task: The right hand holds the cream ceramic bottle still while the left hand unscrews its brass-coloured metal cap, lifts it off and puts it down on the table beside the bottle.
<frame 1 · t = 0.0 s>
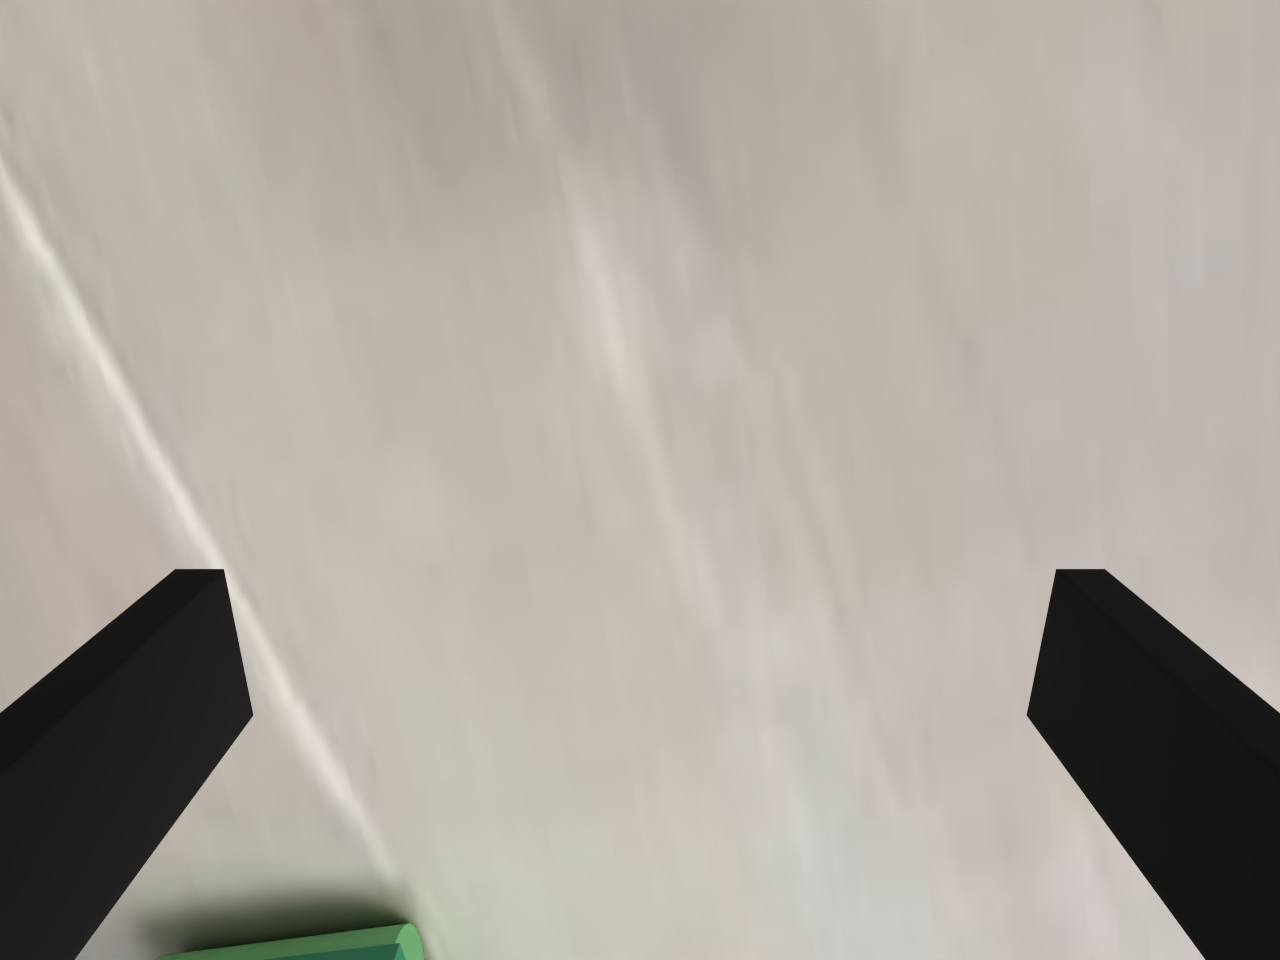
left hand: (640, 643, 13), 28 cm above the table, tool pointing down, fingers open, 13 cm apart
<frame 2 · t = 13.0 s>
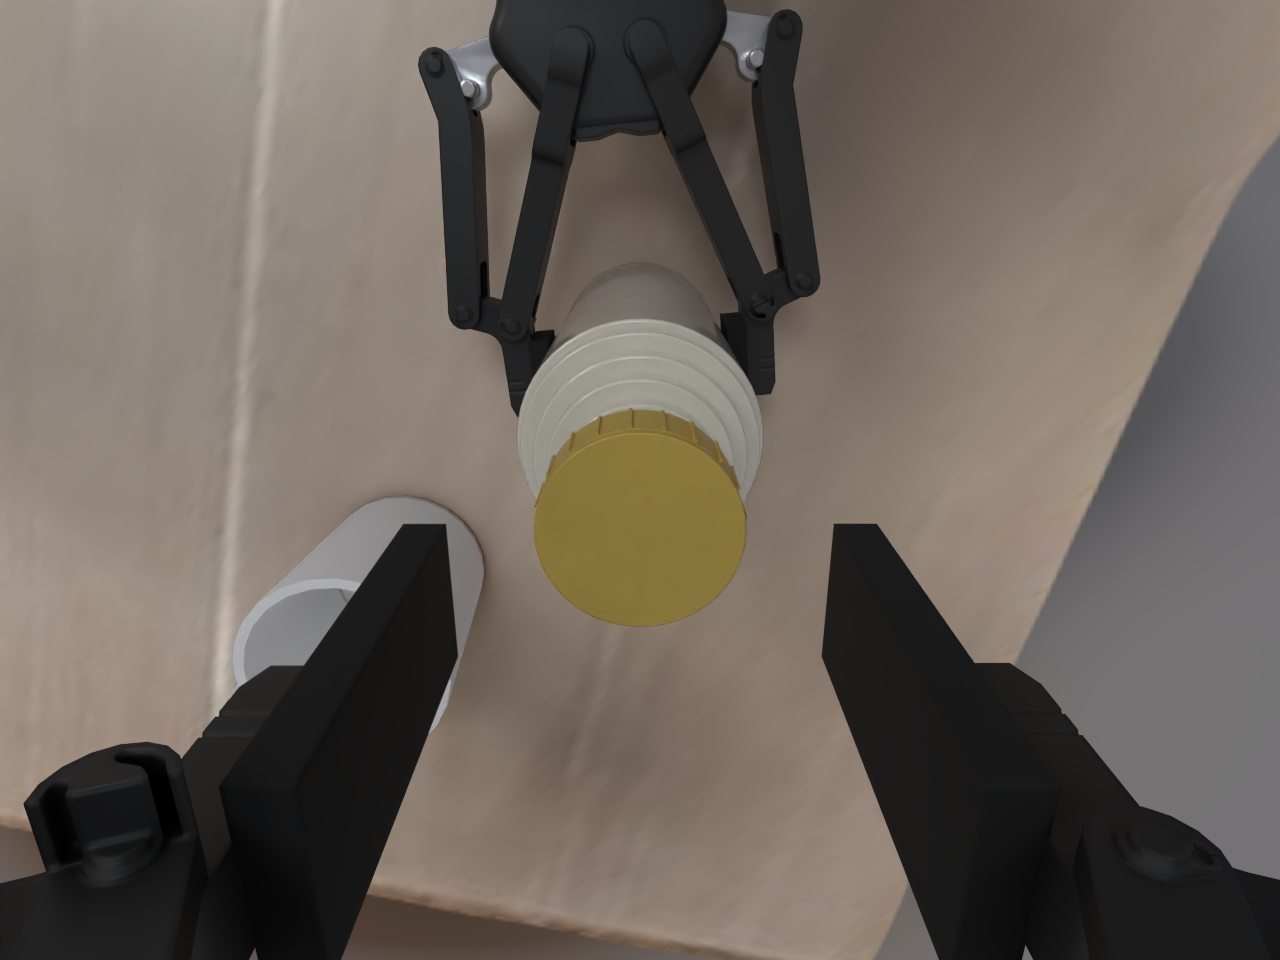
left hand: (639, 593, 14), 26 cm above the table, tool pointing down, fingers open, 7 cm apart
right hand: (650, 475, 35), fingers closed on bottle, 7 cm apart
mug: (394, 569, 43), on the table
cap: (640, 528, 17), point 23 cm above the table, screwed on, not yet turned
bottle: (640, 338, 38), on the table, touching right hand
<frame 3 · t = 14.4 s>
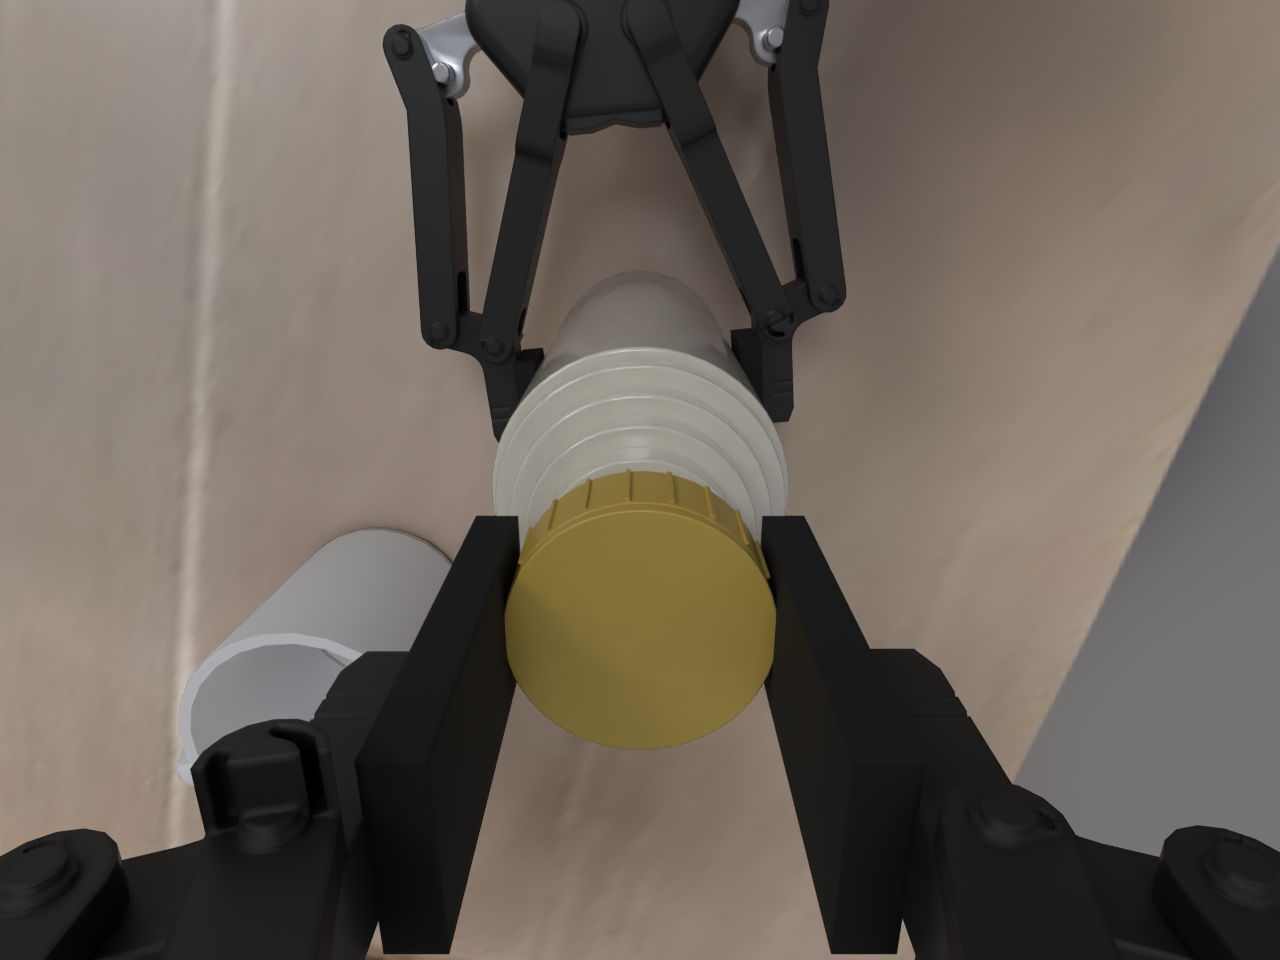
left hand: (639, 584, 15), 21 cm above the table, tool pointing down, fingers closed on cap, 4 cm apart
right hand: (652, 511, 31), fingers closed on bottle, 7 cm apart
mug: (370, 607, 39), on the table
cap: (640, 628, 13), point 23 cm above the table, screwed on, not yet turned, touching left hand
bottle: (640, 354, 35), on the table, touching right hand
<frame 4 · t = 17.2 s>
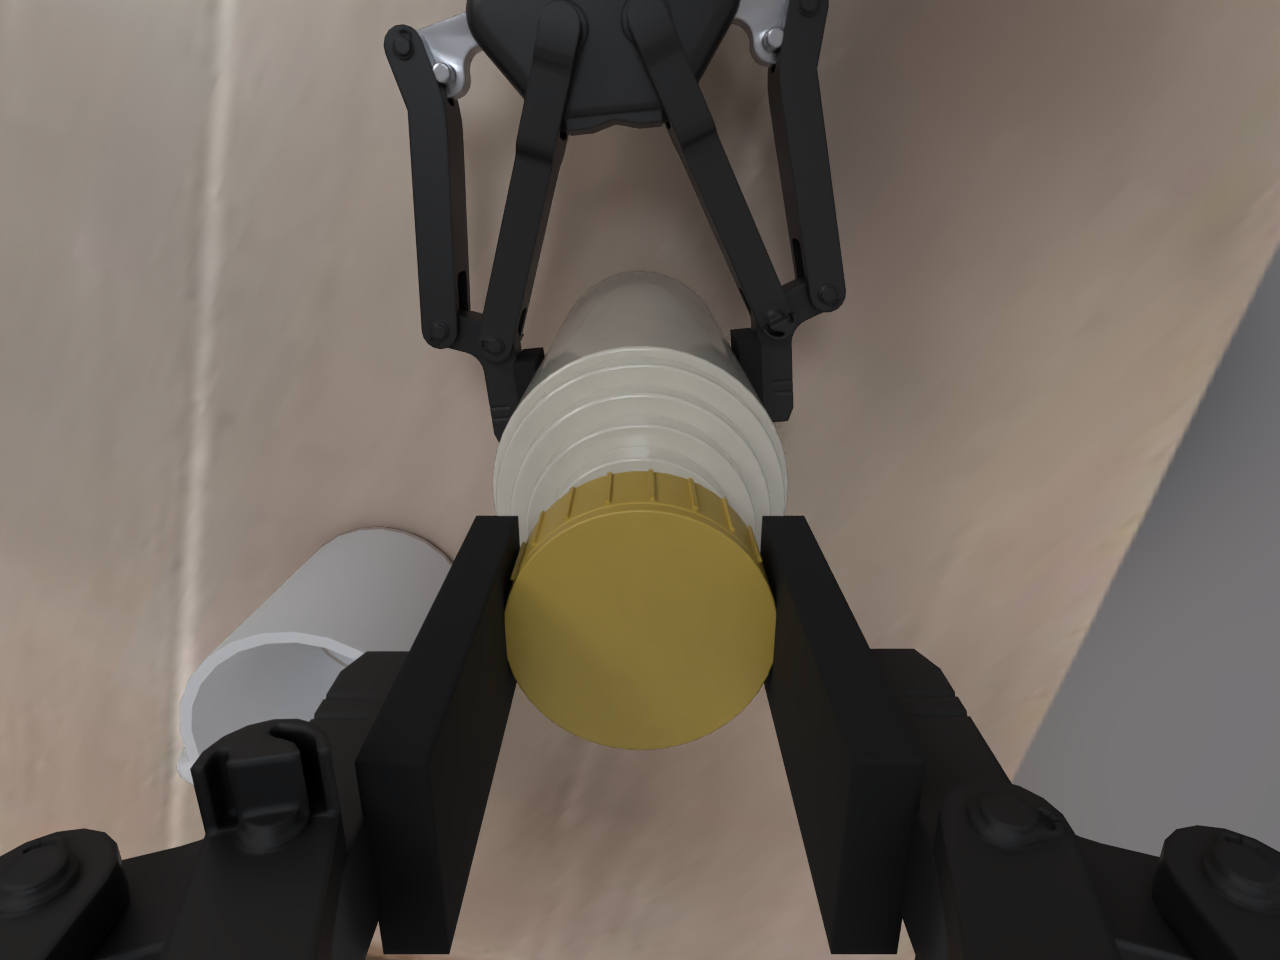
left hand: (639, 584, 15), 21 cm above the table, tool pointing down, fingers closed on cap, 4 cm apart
right hand: (652, 510, 31), fingers closed on bottle, 7 cm apart
mug: (370, 606, 39), on the table
cap: (640, 628, 13), point 23 cm above the table, turned 80° so far, risen 0.1 cm, still on its thread, touching left hand
bottle: (640, 354, 35), on the table, touching right hand
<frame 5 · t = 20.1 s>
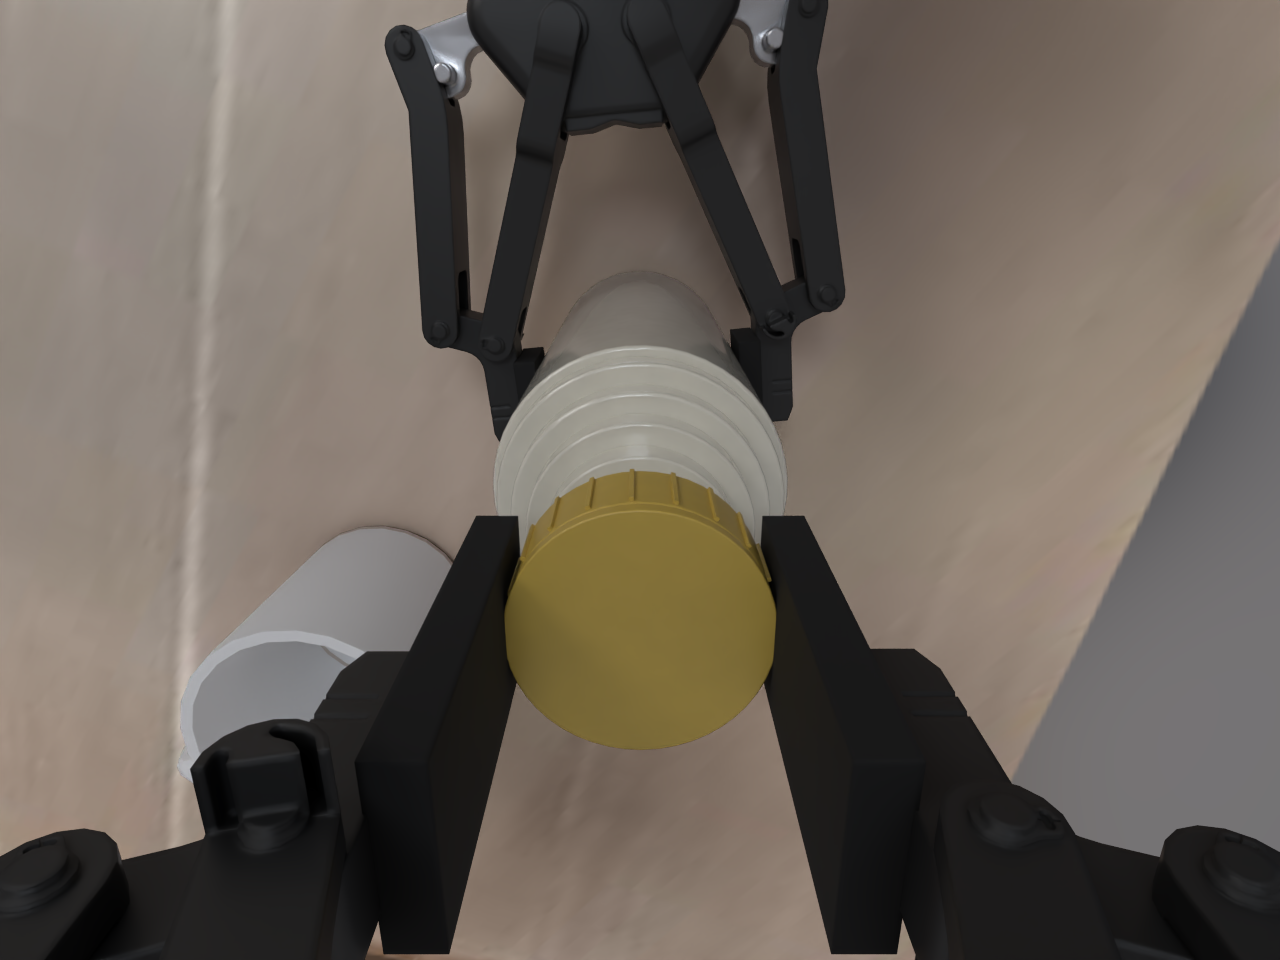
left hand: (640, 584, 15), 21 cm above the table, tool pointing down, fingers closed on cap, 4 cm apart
right hand: (652, 510, 31), fingers closed on bottle, 7 cm apart
mug: (370, 605, 39), on the table
cap: (640, 628, 13), point 23 cm above the table, turned 160° so far, risen 0.2 cm, still on its thread, touching left hand
bottle: (640, 354, 35), on the table, touching right hand
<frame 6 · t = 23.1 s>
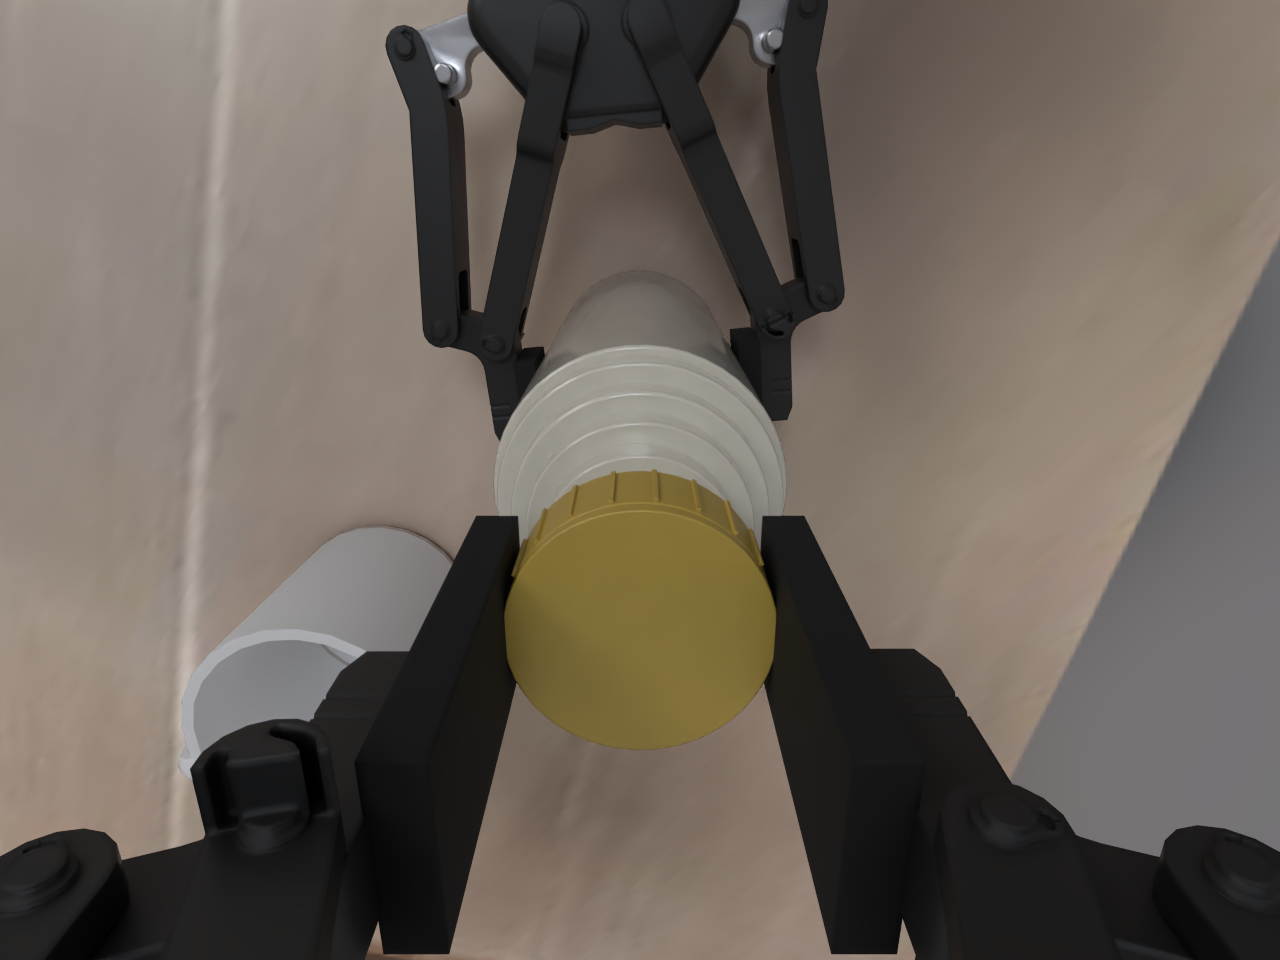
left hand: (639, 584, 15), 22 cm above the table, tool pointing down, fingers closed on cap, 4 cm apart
right hand: (651, 509, 31), fingers closed on bottle, 7 cm apart
mug: (371, 604, 39), on the table
cap: (640, 628, 13), point 23 cm above the table, turned 241° so far, risen 0.2 cm, still on its thread, touching left hand
bottle: (640, 353, 35), on the table, touching right hand
when the left hand's fingers open (2 cm above the table, at t = 35.6 s): cap drops 2 cm, point 2 cm above the table.
when the right hand's fingers open (6 cm above the table, at t = 36.8 s): bottle stays where it is, on the table.
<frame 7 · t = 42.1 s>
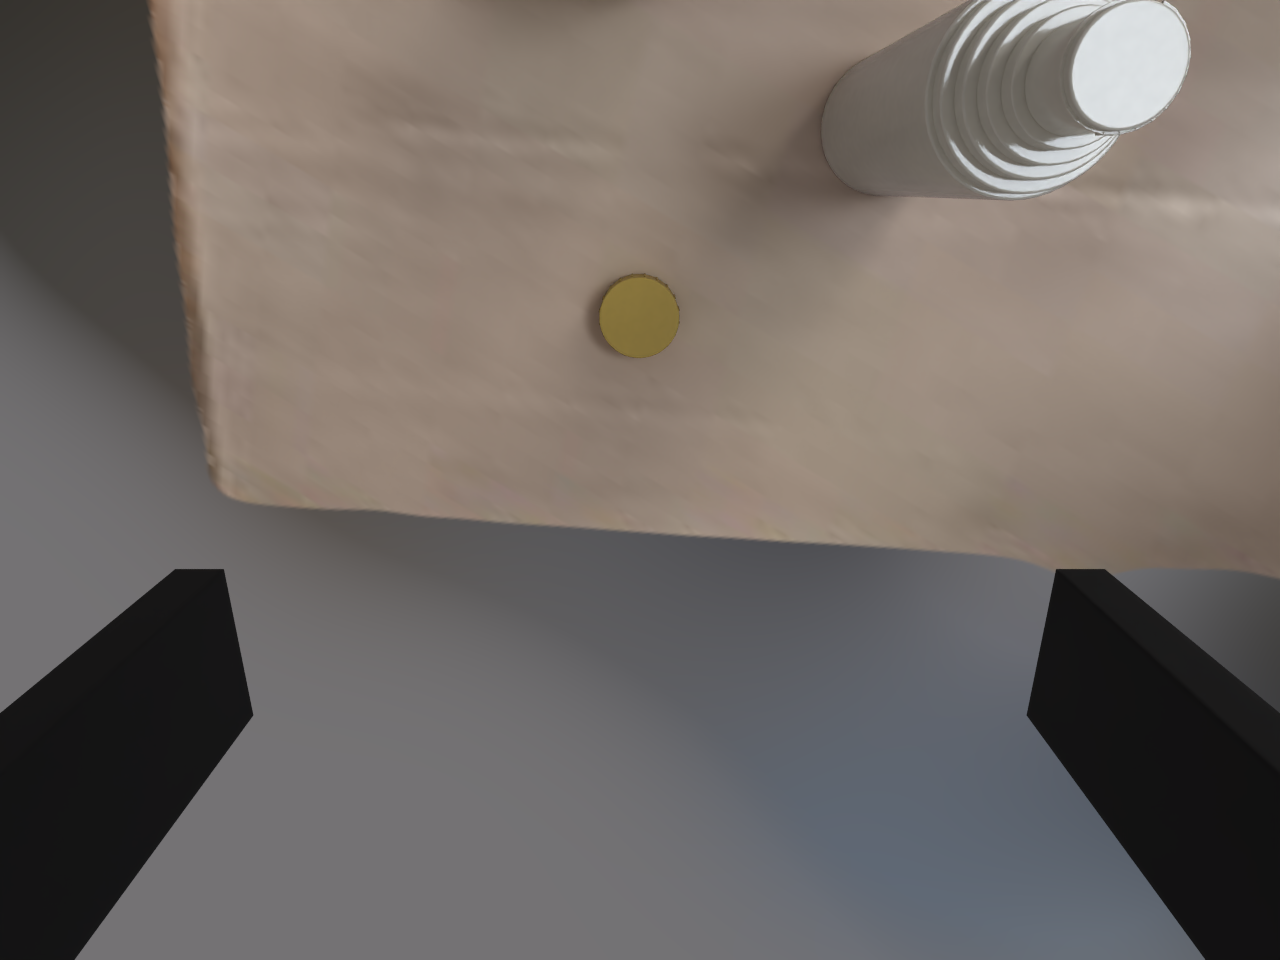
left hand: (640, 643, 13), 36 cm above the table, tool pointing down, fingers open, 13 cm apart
cap: (639, 317, 45), point 2 cm above the table, off its thread
bottle: (886, 126, 43), on the table
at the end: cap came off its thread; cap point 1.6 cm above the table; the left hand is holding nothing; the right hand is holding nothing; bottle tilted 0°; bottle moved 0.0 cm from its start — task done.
